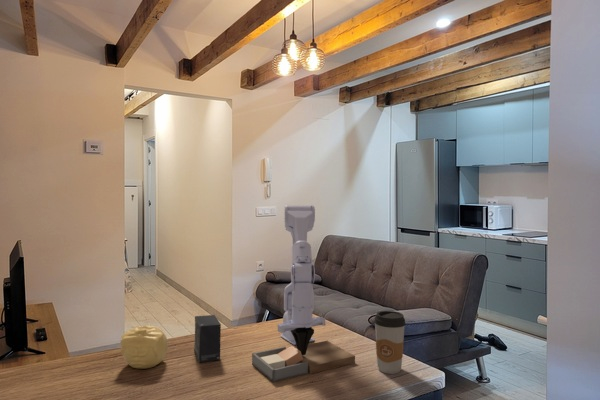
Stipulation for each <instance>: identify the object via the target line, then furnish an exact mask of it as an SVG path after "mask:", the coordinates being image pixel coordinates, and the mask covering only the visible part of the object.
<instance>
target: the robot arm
mask: <svg viewBox="0 0 600 400" xmlns="http://www.w3.org/2000/svg"><path fill="white" fill-rule="evenodd" d="M315 221H316V207H315V206H314V204H311V205H301V204H300V205H290V204H286V205H285V206H284V228H285V230H286V231H288V232H289V233H290V234H291V238H292V247H291V262H292V263H291V266H290V281H291V282H290V283H289V284H287V285H286V286H285V287H284V290H283V291H284V293H283V310H284V311H285V312H284V313H283V317H282V322H281V323H278V324H277V332H278V333H279V334H280V335H279V336H280V337H281V338H282V339H284V340H285V341H287V342H288V343H290V344H292V346H295V345H296V347H297V349H298V350H299V351H301V354H302V355H306V351H307V347H308V344H310V342H315V340H316V339H315V337H314V338H313V336H314V334H315V329H314V328H313V327H317V326H326V318H325V317H323V316H317V317H315V316H314V317H313V311H314V310H315V293H314V288H313V287H314V285H313V284H314V283H315V277H316V272H315V263H314V260H313V259H312V258H313V256H312V246H311V245H312V244H310V243H309V242H308V233H309V232H311V231H313V228H314V224H315Z"/></svg>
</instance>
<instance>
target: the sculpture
mask: <svg viewBox="0 0 600 400" xmlns="http://www.w3.org/2000/svg"><path fill="white" fill-rule="evenodd" d="M167 351H168V339H167V336H166V334H165V332H164V331H163V330H162V329H161V328H159V327H157V326H153V325H143V326H142V325H141V326H140V325H137V326H135V327H134V328H132V329H129V331H126V332H124V333H122V336H121V340H120V354H121V355H122V357H123V358H124V360H125V362H126V363H127V364H128V366H130V367H131V368H133V369H138V370H139V369H141V370H143V369H144V370H145V369H150V368H153V367H156V366H157V365H159V364H160V363H161V362H163V360H164V359H165V357H166V355H167Z"/></svg>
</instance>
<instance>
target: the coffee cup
mask: <svg viewBox="0 0 600 400" xmlns="http://www.w3.org/2000/svg"><path fill="white" fill-rule="evenodd" d="M374 328H375V329H374V331H375V349H376V350H375V351H376V364H377V365H376V366H377V368H378V370H379V372H381V373H384V374H389V375H391V374H392V375H394V374H399V373H400V371H401V369H402V367H403V366H402V365H403V354H404V344H405V343H404V341H405V340H404V337H405V328H406V319H405V317H404V314H403V313H401V312H398V311H393V310H381V311H377V312H376V314H375V316H374Z"/></svg>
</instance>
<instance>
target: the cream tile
mask: <svg viewBox="0 0 600 400" xmlns="http://www.w3.org/2000/svg"><path fill="white" fill-rule="evenodd" d="M260 358H261V359H262V360H264V361H265V362H266V363H267V364H268V365H270V366H271V367H272V368H273V369H277V368H281V367H285V360H284V359H283V358H281V357H280V356H279V355H277V354H274V355H269V356H264V357H260Z"/></svg>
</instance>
